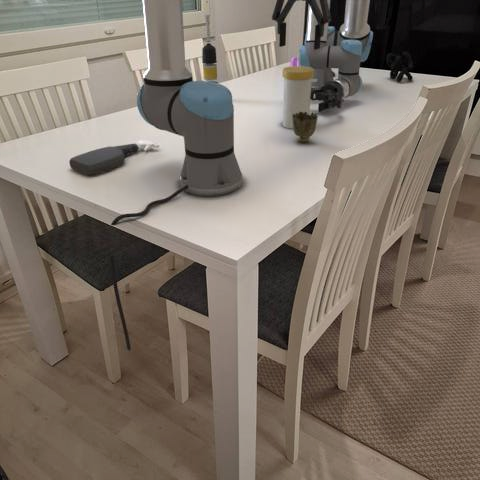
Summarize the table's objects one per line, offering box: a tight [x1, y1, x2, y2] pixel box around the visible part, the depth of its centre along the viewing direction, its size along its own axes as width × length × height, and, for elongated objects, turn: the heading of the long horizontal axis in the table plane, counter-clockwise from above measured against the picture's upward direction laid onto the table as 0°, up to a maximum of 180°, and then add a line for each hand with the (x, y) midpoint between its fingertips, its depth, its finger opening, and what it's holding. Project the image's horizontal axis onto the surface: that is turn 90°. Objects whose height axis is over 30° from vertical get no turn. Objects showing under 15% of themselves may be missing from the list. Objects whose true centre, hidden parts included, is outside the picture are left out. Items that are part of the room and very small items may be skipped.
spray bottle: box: [68, 139, 160, 177], centre depth 124 cm, size 3×11×24 cm
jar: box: [282, 78, 312, 130], centre depth 144 cm, size 9×9×17 cm
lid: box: [282, 65, 314, 80], centre depth 140 cm, size 10×10×2 cm
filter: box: [201, 14, 219, 84], centre depth 171 cm, size 6×6×30 cm
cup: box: [292, 111, 319, 144], centre depth 132 cm, size 8×7×8 cm
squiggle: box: [385, 51, 414, 83], centre depth 198 cm, size 11×10×15 cm
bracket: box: [290, 56, 300, 67], centre depth 217 cm, size 13×6×7 cm, turn 143°
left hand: (299, 47), depth 136 cm, fingers open, 11 cm apart
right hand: (301, 104), depth 146 cm, fingers open, 13 cm apart
